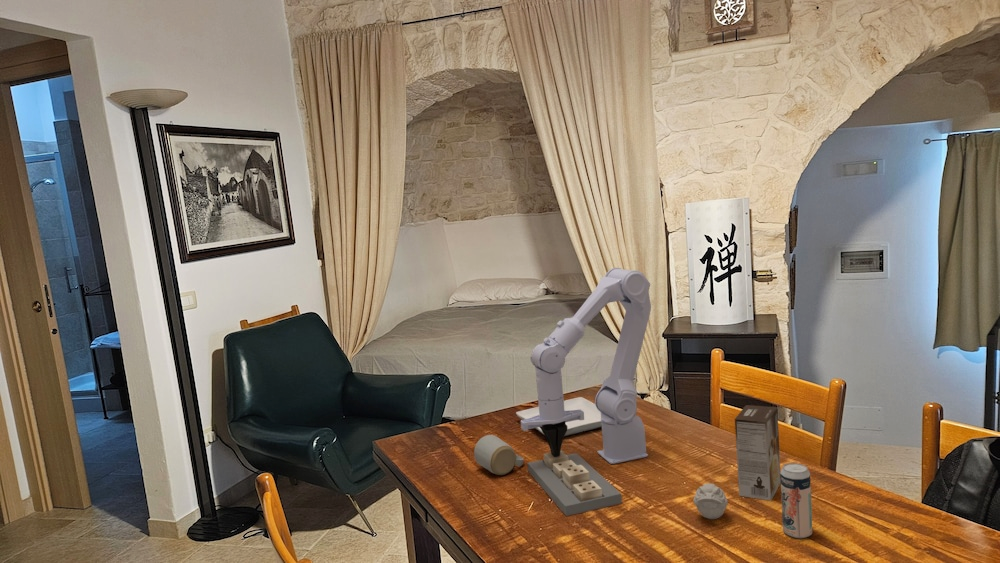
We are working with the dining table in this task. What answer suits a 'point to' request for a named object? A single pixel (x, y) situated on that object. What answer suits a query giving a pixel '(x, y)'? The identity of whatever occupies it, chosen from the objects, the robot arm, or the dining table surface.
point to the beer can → (796, 500)
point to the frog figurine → (710, 501)
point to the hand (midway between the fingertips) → (555, 455)
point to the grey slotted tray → (565, 496)
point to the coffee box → (758, 452)
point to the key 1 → (554, 459)
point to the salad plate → (590, 420)
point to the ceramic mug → (496, 455)
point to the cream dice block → (559, 466)
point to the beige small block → (574, 475)
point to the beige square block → (587, 491)
